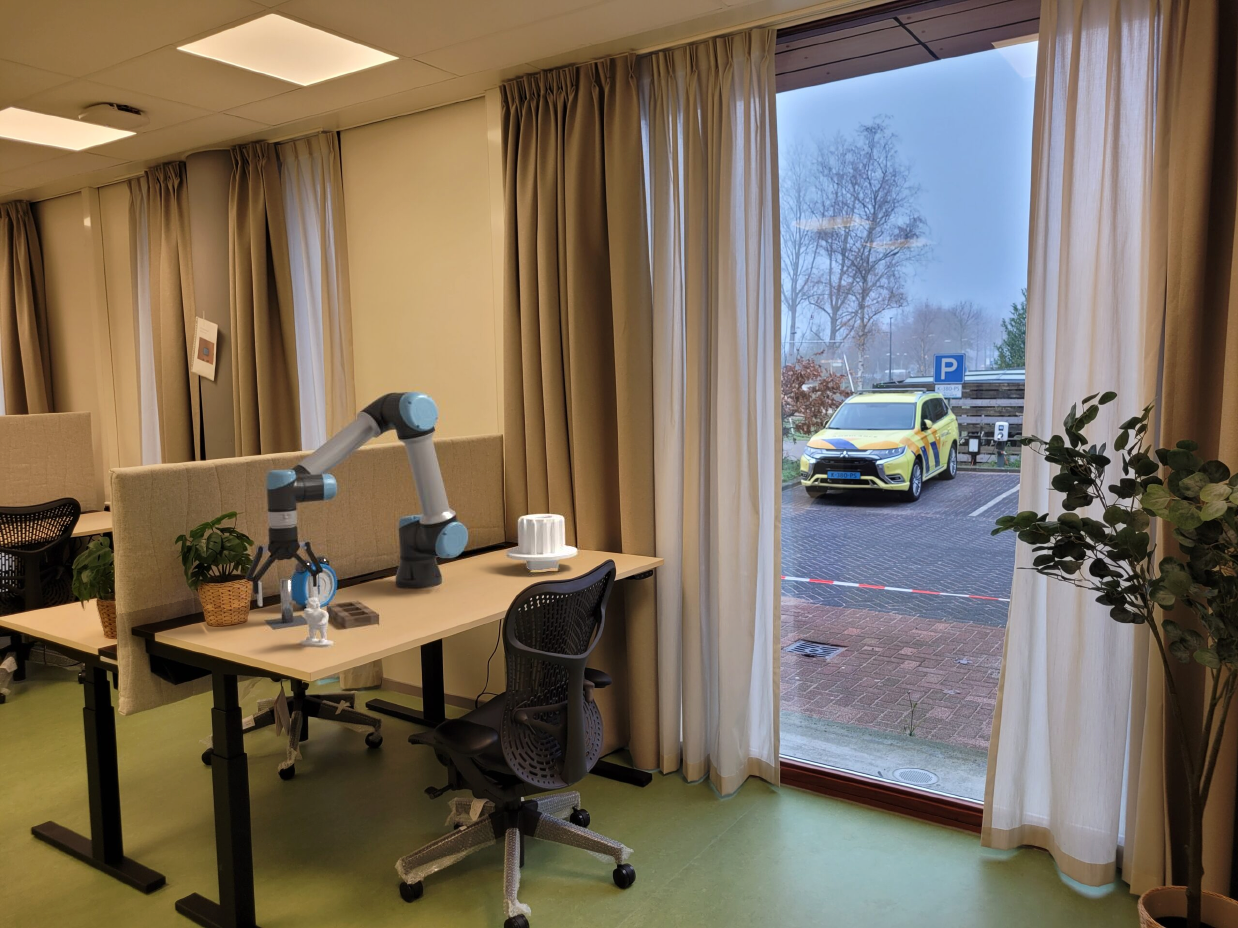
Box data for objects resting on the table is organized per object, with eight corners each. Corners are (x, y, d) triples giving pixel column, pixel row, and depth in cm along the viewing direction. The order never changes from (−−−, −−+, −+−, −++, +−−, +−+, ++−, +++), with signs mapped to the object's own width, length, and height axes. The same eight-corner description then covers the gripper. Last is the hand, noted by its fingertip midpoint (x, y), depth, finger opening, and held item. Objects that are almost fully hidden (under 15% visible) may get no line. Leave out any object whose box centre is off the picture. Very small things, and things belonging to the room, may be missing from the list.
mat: (264, 621, 254) (264, 620, 254) (301, 616, 260) (301, 614, 260) (273, 630, 244) (273, 629, 244) (311, 625, 249) (311, 623, 249)
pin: (280, 621, 252) (278, 579, 251) (291, 620, 254) (290, 577, 253) (283, 623, 250) (281, 581, 249) (294, 622, 251) (292, 579, 250)
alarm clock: (304, 613, 263) (301, 562, 262) (289, 611, 266) (287, 560, 265) (338, 603, 274) (336, 554, 273) (324, 601, 278) (322, 553, 276)
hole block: (326, 615, 260) (326, 604, 260) (358, 610, 265) (357, 600, 265) (346, 630, 244) (345, 619, 243) (379, 624, 248) (378, 614, 248)
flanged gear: (511, 578, 306) (509, 523, 304) (503, 565, 330) (501, 513, 329) (583, 574, 312) (582, 519, 310) (570, 561, 336) (569, 510, 334)
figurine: (292, 646, 229) (290, 599, 228) (310, 639, 235) (308, 593, 234) (320, 649, 226) (318, 602, 225) (338, 642, 232) (336, 596, 231)
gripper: (236, 531, 240) (240, 610, 241) (332, 523, 253) (335, 598, 255) (231, 528, 246) (235, 605, 248) (325, 520, 259) (328, 593, 261)
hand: (286, 602), depth 251 cm, fingers open, 13 cm apart
